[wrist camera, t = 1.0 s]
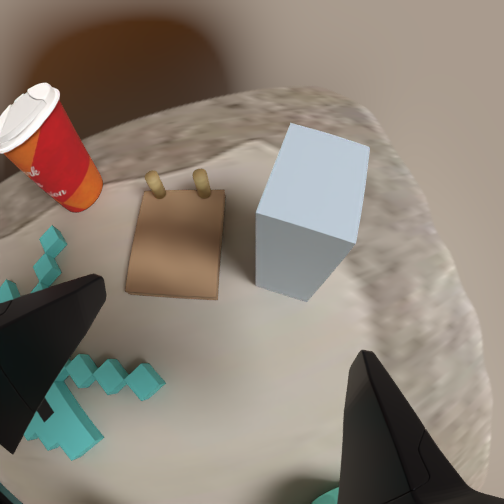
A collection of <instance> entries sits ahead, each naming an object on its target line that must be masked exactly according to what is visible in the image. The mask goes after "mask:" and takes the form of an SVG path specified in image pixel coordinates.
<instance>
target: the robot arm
mask: <svg viewBox="0 0 504 504" xmlns="http://www.w3.org/2000/svg"><path fill="white" fill-rule="evenodd" d="M105 300H106V289H105V283H104V279H103V277H102V276H99V275H97V274H90V275H87V276H84V277H80V278H77V279H74V280H71V281H68V282H64V283H61V284H58V285H55V286H52V287H49V288H45V289H42V290H39V291H36V292H33V293H30V294H27V295H24V296H21V297H18V298H15V299H13V300H9V301H6V302H3V303H0V444H1V445H2V446H3V447H4V448H5V449H6V450H8V451H9V452H10V453H11V454H14V452H15V450H16V448H17V446H18V445H19V443H20V441H21V439H22V437H23V435H24V433H25V431H26V429H27V427H28V426H29V424H30V422H31V420H32V418H33V417H34V414H35V413H36V411H37V409H38V408H39V406H40V404H41V403H42V401H43V399H44V397H45V396H46V394H47V392H48V391H49V389H50V388H51V386H52V384H53V383H54V381H55V380H56V378H57V376H58V375H59V373H60V372H61V370H62V369H63V367H64V366H65V364H66V363H67V361H68V360H69V358H70V357H71V355H72V354H73V352H74V351H75V349H76V348H77V346H78V345H79V343H80V342H81V340H82V339H83V338H84V336H85V335H86V333H87V331H88V330H89V328H90V326H91V325H92V323H93V321H94V319H95V318H96V316H97V314H98V312H99V311H100V309H101V307H102V306H103V304H104V302H105ZM0 504H23V503H22V502H20V501H19V500H18V499H17V498H16V497H15V496H14V495H13V494H12V493H11V492H9V491H8V490H7V489H6V488H5V487H4V486H3V485H2V484H1V483H0ZM337 504H504V499H503V498H499V497H495V496H491V495H487V494H484V493H480V492H478V491H475V490H473V489H472V488H470V487H469V486H468V485H467V484H466V483H465V482H464V480H463V479H462V478H461V477H460V475H459V474H458V473H457V471H456V470H455V469H454V468H453V466H452V465H451V464H450V462H449V461H448V460H447V459H446V457H445V456H444V455H443V453H442V452H441V451H440V449H439V448H438V446H437V445H436V443H435V442H434V440H433V439H432V437H431V436H430V434H429V433H428V431H427V430H426V429H425V427H424V425H423V424H422V422H421V421H420V419H419V418H418V416H417V415H416V413H415V412H414V410H413V409H412V407H411V406H410V404H409V403H408V401H407V400H406V398H405V397H404V395H403V394H402V392H401V391H400V389H399V388H398V387H397V385H396V384H395V382H394V381H393V379H392V378H391V376H390V375H389V374H388V372H387V371H386V369H385V368H384V366H383V365H382V364H381V362H380V361H379V359H378V358H377V357H376V355H375V354H374V353H373V352H372V351H367V350H361V351H360V352H359V353H358V355H357V357H356V358H355V360H354V362H353V363H352V365H351V367H350V370H349V376H348V385H347V392H346V400H345V407H344V420H343V443H342V458H341V471H340V482H339V492H338V500H337Z"/></svg>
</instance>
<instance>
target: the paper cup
mask: <svg viewBox="0 0 504 504" xmlns="http://www.w3.org/2000/svg"><path fill="white" fill-rule="evenodd" d="M28 93H29V94H28ZM59 97H60V93H59V91H58V90H57V89H55V88H52V87H51V86H50V85H49V84H47V83H41V84H38V85H36V86H33V87H32V88H30V89H28V92H27V93H26V94H25V95H24V94H22V95H21V96H20V97H19V98H18V99H16V100H15V101H14V102H15V103H14V104H13V105H12V106H11V105H9V106H8V107H7V109H6V110H5V111H4V112H3V113H2V115H1V116H0V153H3V154H4V155H5V156H7V157H8V158H9V159H10V160H11V161H12V162H13V163H14V164H15V165H16V166H17V167H18V168H19V169H20V170H21V171H23V172H24V173H25V174H26V175H27V176H28V177H29V178H30V179H31V180H33V181H34V182H35V183H36V184H37V185H38V186H39V187H41V188H42V189H43V190H44V191H45V192H46V193H48V194H49V195H50V196H51V197H52V198H54V199H55V200H56V201H57V202H58V203H60V204H61V205H62V206H64V207H65V208H66V209H68V210H69V211H71V212H81V211H84V210H86V209H87V208H89V207H90V206H91V205H92V204H93V203H94V202H95V201H96V200H97V199H98V197H99V195H100V193H101V191H102V187H103V180H102V177H101V175H100V173H99V172H98V170H97V168H96V166H95V165H94V163H93V161H92V159H91V158H90V156H89V154H88V152H87V151H86V149H85V147H84V145H83V143H82V142H81V140H80V138H79V136H78V134H77V133H76V131H75V129H74V127H73V125H72V123H71V121H70V120H69V118H68V116H67V114H66V112H65V110H64V108H63V106H62V104H61V102H60V100H59Z"/></svg>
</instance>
